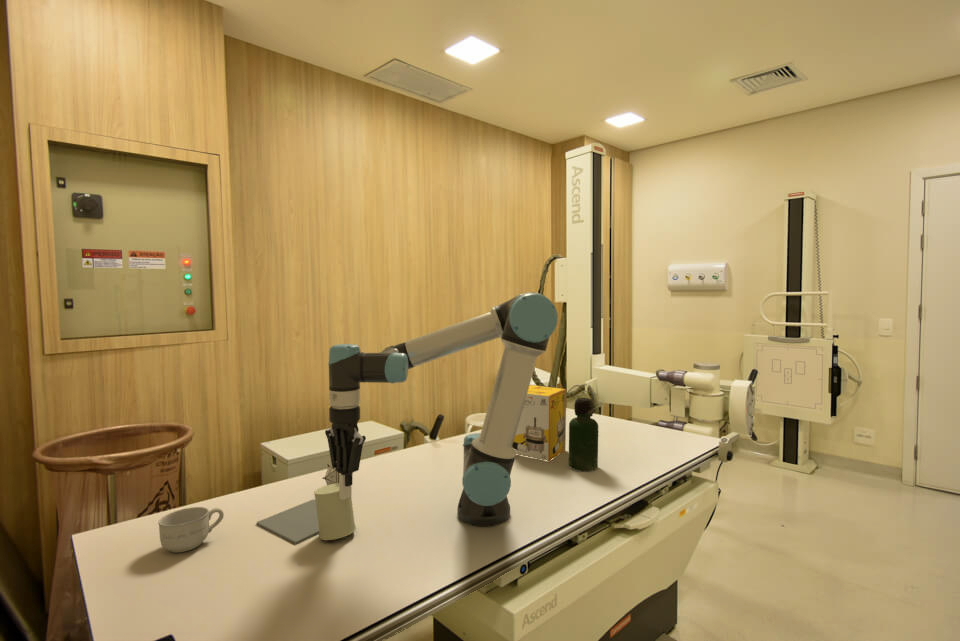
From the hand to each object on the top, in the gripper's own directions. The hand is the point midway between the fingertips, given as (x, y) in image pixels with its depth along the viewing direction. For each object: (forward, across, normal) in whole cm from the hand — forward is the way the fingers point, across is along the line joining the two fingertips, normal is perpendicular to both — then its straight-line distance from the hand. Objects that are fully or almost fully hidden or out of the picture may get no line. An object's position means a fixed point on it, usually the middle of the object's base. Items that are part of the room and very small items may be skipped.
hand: (345, 497), depth 122 cm
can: (+11, -3, 0) cm, 11 cm away
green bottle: (+11, +30, +84) cm, 90 cm away
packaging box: (+11, +8, +89) cm, 90 cm away
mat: (+11, -17, 0) cm, 21 cm away
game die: (+11, -28, +20) cm, 36 cm away
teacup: (+12, -30, -24) cm, 40 cm away
